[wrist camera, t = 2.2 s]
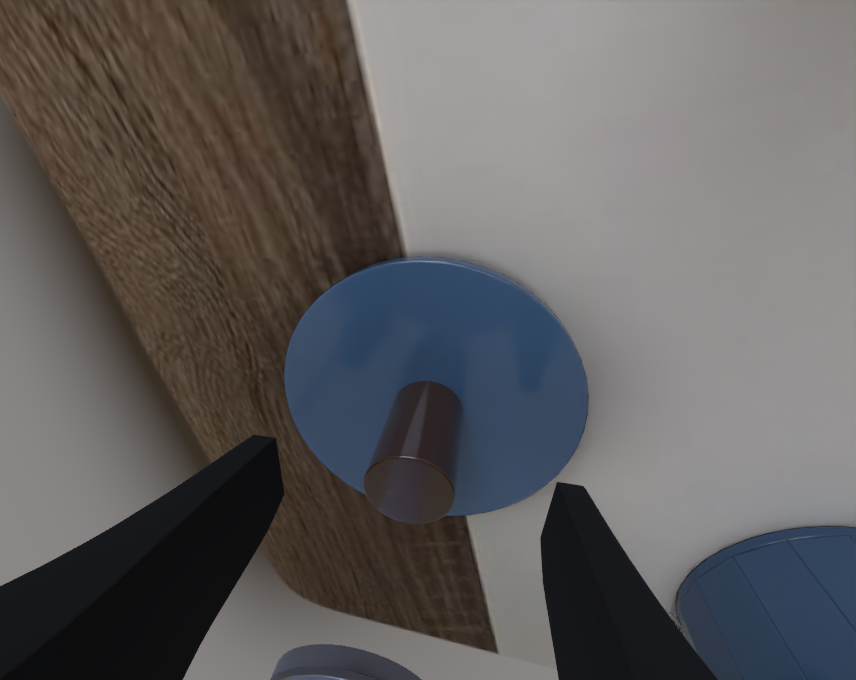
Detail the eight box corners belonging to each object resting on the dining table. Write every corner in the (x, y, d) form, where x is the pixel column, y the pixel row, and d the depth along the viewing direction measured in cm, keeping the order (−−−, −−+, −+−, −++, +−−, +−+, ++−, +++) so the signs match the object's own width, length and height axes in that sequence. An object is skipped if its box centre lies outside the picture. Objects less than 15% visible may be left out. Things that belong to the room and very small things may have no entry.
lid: (547, 512, 16) (568, 640, 12) (308, 473, 17) (249, 577, 13) (619, 268, 11) (696, 338, 7) (283, 235, 12) (177, 279, 8)
